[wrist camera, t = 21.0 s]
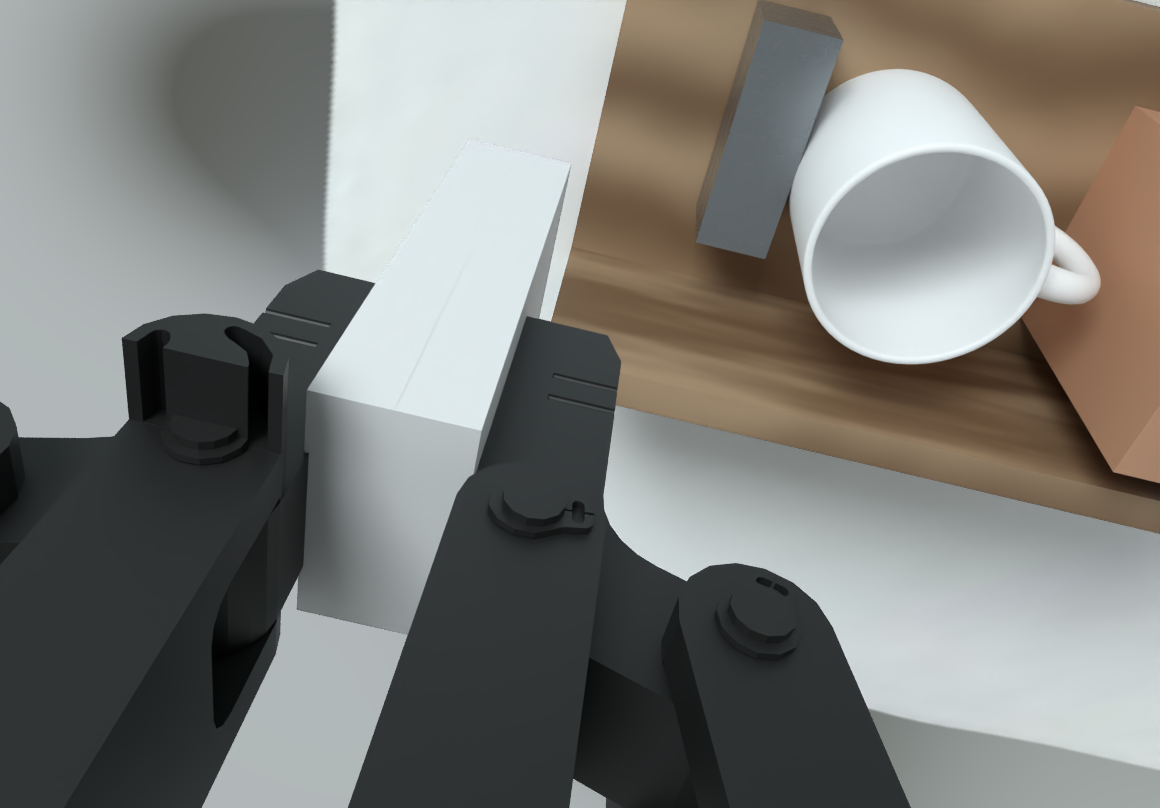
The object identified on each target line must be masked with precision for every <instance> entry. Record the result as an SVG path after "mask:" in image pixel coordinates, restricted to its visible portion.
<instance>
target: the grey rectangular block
mask: <svg viewBox="0 0 1160 808" xmlns="http://www.w3.org/2000/svg"><path fill="white" fill-rule="evenodd" d="M843 41H844V40H843V38H842V36H841V34H840V32H839V31H838V29H837V27H836V25H835V23H834V21H833V20H832V18H831V17H830V16H826V15H822V14H818V13H814V12H810V11H806V10H802V9H798V8H794V7H790V6H786V5H782V4H778V3H774V2H770V1H766V0H758V2H757V5H756V9H755V12H754V15H753V19H752V22H751V25H750V29H749V32H748V35H747V39H746V42H745V45H744V49H743V52H742V55H741V59H740V62H739V65H738V69H737V72H736V75H735V79H734V82H733V85H732V89H731V92H730V95H729V99H728V102H727V105H726V109H725V112H724V115H723V119H722V122H721V125H720V129H719V132H718V135H717V139H716V142H715V145H714V149H713V152H712V155H711V159H710V162H709V165H708V169H707V172H706V175H705V179H704V182H703V185H702V189H701V192H700V195H699V199H698V202H697V205H696V243H700V244H704V245H709V246H713V247H717V248H721V249H725V250H729V251H733V252H737V253H742V254H746V255H750V256H754V257H758V258H762V259H765V258H766V256H767V253H768V250H769V247H770V245H771V242H772V239H773V236H774V233H775V231H776V228H777V225H778V222H779V219H780V217H781V214H782V211H783V208H784V205H785V203H786V200H787V197H788V194H789V191H790V189H791V186H792V183H793V180H794V178H795V175H796V172H797V169H798V166H799V164H800V161H801V158H802V155H803V152H804V150H805V147H806V144H807V141H808V138H809V136H810V133H811V130H812V127H813V124H814V122H815V119H816V116H817V113H818V111H819V108H820V105H821V102H822V99H823V97H824V94H825V91H826V88H827V85H828V83H829V80H830V77H831V74H832V71H833V69H834V66H835V63H836V60H837V57H838V55H839V52H840V49H841V46H842V44H843Z"/></svg>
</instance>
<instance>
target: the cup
mask: <svg viewBox="0 0 1160 808" xmlns="http://www.w3.org/2000/svg"><path fill="white" fill-rule="evenodd" d="M787 203H788V208H789V212H790V217H791V222H792V227H793V232H794V237H795V242H796V247H797V252H798V257H799V262H800V266H801V271H802V276H803V281H804V286H805V291H806V294H807V298H808V301H809V303H810V306H811V308H812V310H813V312H814V314H815V316H816V317H817V319H818V320H819V322H820V323H821V325H822V326H823V327H824V328H825V329H826V330H827V331H828V333H829V334H831V335H832V336H833V337H834V338H835V339H836V340H837V341H839V342H840V343H841V344H843V345H844V346H846V347H848V348H849V349H851V350H853V351H855V352H857V353H859V354H861V355H863V356H866V357H869V358H872V359H875V360H879V361H883V362H889V363H895V364H926V363H934V362H940V361H944V360H948V359H952V358H955V357H958V356H961V355H964V354H966V353H969V352H971V351H974V350H976V349H978V348H980V347H982V346H984V345H985V344H987V343H989V342H990V341H992V340H994V339H995V338H997V337H998V336H999V335H1001V334H1002V333H1004V332H1005V331H1006V330H1007V329H1009V328H1010V327H1011V326H1012V325H1013V324H1014V323H1015V322H1016V321H1017V320H1018V319H1019V318H1020V317H1021V316H1022V315H1023V314H1024V313H1025V312H1026V311H1027V309H1028V308H1029V307H1030V306H1031V304H1032V303H1033V302H1034V300H1035V299H1036V297H1038V298H1041V299H1045V300H1048V301H1052V302H1056V303H1061V304H1069V305H1073V304H1083V303H1086V302H1088V301H1090V300H1092V299H1093V298H1094V297H1095V296H1096V295H1097V294H1098V292H1099V289H1100V286H1101V280H1100V275H1099V272H1098V270H1097V268H1096V266H1095V265H1094V263H1093V261H1092V260H1091V258H1090V257H1089V256H1088V254H1087V253H1086V252H1085V251H1084V250H1083V248H1082V247H1081V246H1080V245H1079V244H1078V243H1077V242H1075V241H1074V240H1073V239H1072V238H1071V237H1070V236H1069V235H1067V234H1066V233H1065V232H1063V231H1062V230H1060V229H1059V228H1058V227H1056V226H1055V225H1054V219H1053V214H1052V210H1051V208H1050V205H1049V202H1048V200H1047V198H1046V196H1045V194H1044V192H1043V191H1042V189H1041V188H1040V186H1039V185H1038V183H1037V182H1036V181H1035V180H1034V178H1033V177H1032V176H1031V175H1030V174H1029V172H1028V171H1027V170H1026V169H1025V168H1024V166H1023V165H1022V164H1021V163H1020V162H1019V160H1018V159H1017V158H1016V157H1015V155H1014V154H1013V153H1012V152H1011V151H1010V149H1009V148H1008V147H1007V146H1006V145H1005V143H1004V142H1003V141H1002V140H1001V139H1000V137H999V136H998V135H997V134H996V133H995V131H994V130H993V129H992V128H991V127H990V125H989V124H988V123H987V122H986V121H985V119H984V118H983V117H982V116H981V115H980V113H979V112H978V111H977V110H976V109H975V107H974V106H973V105H972V104H971V103H970V102H969V101H968V100H967V99H966V97H965V96H963V95H962V94H961V93H960V92H959V91H958V90H957V89H955V88H954V87H953V86H951V85H950V84H948V83H947V82H945V81H943V80H941V79H939V78H937V77H935V76H932V75H929V74H927V73H923V72H919V71H914V70H908V69H887V70H879V71H874V72H870V73H866V74H863V75H860V76H857V77H855V78H853V79H851V80H848V81H846V82H845V83H843V84H841V85H839V86H837V87H836V88H834V89H833V90H831V91H830V92H829V93H827V94H826V95H825V96H824V97H823V99H822V102H821V105H820V108H819V111H818V113H817V116H816V119H815V122H814V124H813V127H812V130H811V133H810V136H809V138H808V141H807V144H806V147H805V150H804V152H803V155H802V158H801V161H800V164H799V166H798V169H797V172H796V175H795V178H794V180H793V183H792V186H791V189H790V191H789V194H788V197H787ZM1052 261H1054V262H1055V263H1056V264H1057V265H1058V266H1059V267H1057V266H1055V265H1052Z"/></svg>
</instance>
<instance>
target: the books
mask: <svg viewBox="0 0 1160 808" xmlns="http://www.w3.org/2000/svg"><path fill="white" fill-rule="evenodd" d="M1065 233H1066V234H1067V235H1069V236H1070V237H1071V238H1072V239H1073V240H1074V241H1075V242H1077V243H1078V244H1079V245H1080V246H1081V247H1082V248H1083V250H1084V251H1085V252H1086V253H1087V254H1088V256H1089V257H1090V258H1091V260H1092V261H1093V263H1094V265H1095V266H1096V268H1097V270H1098V272H1099V275H1100V280H1101V286H1100V289H1099V292H1098V294H1097V295H1096V296H1095V297H1094V298H1093V299H1092V300H1090V301H1088V302H1086V303H1083V304H1073V305H1069V304H1061V303H1056V302H1052V301H1048V300H1045V299H1041V298H1038V297H1036V299H1035V300H1034V302H1033V303H1032V304H1031V306H1030V307H1029V308H1028V309H1027V311H1026V312H1025V313H1024V314H1023V315H1022V316H1021V318H1022V320H1023V321H1024V323H1025V325H1026V326H1027V328H1028V330H1029V331H1030V333H1031V335H1032V336H1033V338H1034V340H1035V341H1036V343H1037V345H1038V347H1039V348H1040V350H1041V352H1042V353H1043V355H1044V357H1045V358H1046V360H1047V362H1048V363H1049V365H1050V367H1051V368H1052V370H1053V372H1054V373H1055V375H1056V377H1057V378H1058V380H1059V382H1060V384H1061V385H1062V387H1063V389H1064V390H1065V392H1066V394H1067V395H1068V397H1069V399H1070V400H1071V402H1072V404H1073V405H1074V407H1075V409H1076V410H1077V412H1078V414H1079V415H1080V417H1081V419H1082V421H1083V422H1084V424H1085V426H1086V427H1087V429H1088V431H1089V432H1090V434H1091V436H1092V437H1093V439H1094V441H1095V442H1096V444H1097V446H1098V447H1099V449H1100V451H1101V453H1102V454H1103V456H1104V458H1105V459H1106V461H1107V463H1108V464H1109V466H1110V468H1111V469H1112V471H1113V472H1115V473H1119V474H1123V475H1128V476H1132V477H1136V478H1140V479H1144V480H1149V481H1153V482H1157V483H1160V112H1158V111H1154V110H1150V109H1146V108H1142V107H1138V106H1135V107H1134V109H1133V111H1132V112H1131V114H1130V116H1129V118H1128V120H1127V122H1126V123H1125V125H1124V127H1123V129H1122V131H1121V132H1120V134H1119V136H1118V138H1117V140H1116V141H1115V143H1114V145H1113V147H1112V149H1111V150H1110V152H1109V154H1108V156H1107V158H1106V159H1105V161H1104V163H1103V165H1102V167H1101V168H1100V170H1099V172H1098V174H1097V176H1096V178H1095V179H1094V181H1093V183H1092V185H1091V187H1090V188H1089V190H1088V192H1087V194H1086V196H1085V197H1084V199H1083V201H1082V203H1081V205H1080V206H1079V208H1078V210H1077V212H1076V214H1075V215H1074V217H1073V219H1072V221H1071V223H1070V224H1069V226H1068V228H1067V230H1066V232H1065ZM1052 265H1055V266H1057V267H1059V266H1058V265H1057V264H1056V263H1055V262H1054V261H1052Z"/></svg>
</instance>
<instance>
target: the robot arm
mask: <svg viewBox="0 0 1160 808" xmlns="http://www.w3.org/2000/svg"><path fill="white" fill-rule="evenodd" d="M570 168H571V163H567V162H563V161H558V160H554V159H550V158H546V157H542V156H538V155H534V154H530V153H525V152H521V151H517V150H513V149H509V148H505V147H501V146H496V145H492V144H488V143H484V142H480V141H476V140H472V139H468V141H467V142H466V144H465V145H464V147H463V149H462V150H461V152H460V153H459V155H458V156H457V158H456V159H455V161H454V162H453V164H452V166H451V167H450V169H449V170H448V172H447V173H446V175H445V176H444V178H443V180H442V181H441V183H440V184H439V186H438V187H437V189H436V190H435V192H434V194H433V195H432V197H431V198H430V200H429V201H428V203H427V204H426V206H425V207H424V209H423V211H422V212H421V214H420V215H419V217H418V218H417V220H416V221H415V223H414V225H413V226H412V228H411V229H410V231H409V232H408V234H407V235H406V237H405V239H404V240H403V242H402V243H401V245H400V246H399V248H398V249H397V251H396V252H395V254H394V256H393V257H392V259H391V260H390V262H389V263H388V265H387V266H386V268H385V270H384V271H383V273H382V274H381V276H380V277H379V279H378V280H377V282H376V283H372V282H368V281H364V280H359V279H355V278H351V277H347V276H343V275H338V274H334V273H330V272H326V271H321V270H317V271H315V272H312V273H310V274H308V275H306V276H304V277H302V278H300V279H298V280H296V281H293V282H291V283H289V284H287V285H285V286H284V287H283V288H282V290H281V291H280V292H279V293H278V295H277V296H276V297H275V298H274V299H273V301H272V302H271V303H270V304H269V306H268V307H267V308H266V312H265V313H262V314H261V315H260V316H259V318H258V319H257V320H256V321H255V323H254V324H253V323H250V322H247V321H244V320H242V319H239V318H235V317H228V316H220V315H212V314H192V315H178V316H171V317H167V318H164V319H160V320H157V321H153V322H150V323H146V324H143V325H142V326H140V327H138V328H137V329H135V330H134V331H132V332H131V333H129V334H127V335H126V336H124V337H123V338H122V346H123V357H124V368H125V379H126V390H127V401H128V412H129V420H128V421H127V422H126V424H125V425H124V426H123V427H122V428H121V429H120V430H119V431H118V433H117V434H116V435H115V436H113V437H98V438H22V437H18V433H17V427H16V424H15V421H14V419H13V416H12V413H11V411H10V409H9V407H7V406H5V405H4V404H3V403H1V402H0V808H202V805H203V804H204V802H205V799H206V797H207V795H208V793H209V791H210V789H211V787H212V785H213V783H214V781H215V778H216V777H217V774H218V772H219V770H220V768H221V766H222V764H223V762H224V760H225V758H226V756H227V754H228V752H229V750H230V748H231V746H232V743H233V741H234V739H235V737H236V735H237V733H238V731H239V729H240V727H241V725H242V723H243V721H244V718H245V716H246V714H247V712H248V710H249V708H250V706H251V704H252V702H253V700H254V698H255V695H256V694H257V692H258V690H259V687H260V685H261V683H262V681H263V679H264V677H265V675H266V673H267V671H268V669H269V667H270V665H271V663H272V660H273V658H274V656H275V654H276V650H277V646H278V641H279V636H280V619H281V609H282V607H283V605H284V603H285V601H286V599H287V597H288V595H289V593H290V591H291V589H292V587H293V585H294V583H295V581H296V580H297V578H298V595H297V610H301V611H305V612H309V613H314V614H318V615H323V616H327V617H332V618H336V619H341V620H345V621H349V622H353V623H358V624H362V625H367V626H371V627H376V628H380V629H384V630H389V631H393V632H398V633H402V634H407V635H408V636H407V639H406V642H405V645H404V647H403V650H402V653H401V656H400V659H399V662H398V665H397V668H396V671H395V674H394V676H393V679H392V682H391V685H390V688H389V691H388V694H387V696H386V700H385V702H384V705H383V708H382V711H381V714H380V717H379V720H378V722H377V725H376V729H375V731H374V734H373V737H372V740H371V743H370V746H369V749H368V751H367V754H366V757H365V760H364V763H363V766H362V769H361V772H360V774H359V778H358V780H357V783H356V786H355V789H354V792H353V795H352V798H351V800H350V803H349V806H348V808H569V805H570V798H571V790H572V781H573V779H575V780H577V781H579V782H580V783H582V784H584V785H585V786H587V787H589V788H591V789H592V790H594V791H596V792H597V793H599V794H601V795H603V796H604V797H606V808H911V807H910V805H909V803H908V800H907V798H906V796H905V793H904V791H903V789H902V787H901V784H900V782H899V780H898V777H897V775H896V773H895V770H894V768H893V766H892V764H891V761H890V759H889V756H888V754H887V752H886V749H885V747H884V745H883V743H882V740H881V738H880V736H879V733H878V731H877V729H876V726H875V724H874V722H873V719H872V717H871V715H870V713H869V710H868V708H867V706H866V703H865V701H864V699H863V696H862V694H861V692H860V689H859V687H858V685H857V683H856V680H855V678H854V676H853V673H852V671H851V669H850V666H849V664H848V662H847V659H846V657H845V655H844V653H843V650H842V648H841V646H840V643H839V641H838V639H837V636H836V634H835V632H834V629H833V627H832V625H831V624H830V622H829V621H828V619H827V618H826V616H825V615H824V613H823V612H822V610H821V609H820V607H819V606H818V604H817V603H816V602H815V601H814V600H813V599H812V598H811V597H809V596H808V595H807V594H806V593H805V592H803V591H802V590H801V589H800V588H799V587H798V586H796V585H795V584H794V583H793V582H791V581H789V580H787V579H784V578H782V577H780V576H778V575H776V574H774V573H772V572H770V571H768V570H766V569H763V568H758V567H753V566H748V565H743V564H738V563H733V564H723V565H713V566H709V567H707V568H705V569H703V570H701V571H700V572H698V573H696V574H694V575H692V576H691V577H689V579H688V581H685V580H683V579H681V578H679V577H677V576H675V575H673V574H671V573H669V572H667V571H665V570H663V569H661V568H659V567H657V566H655V565H654V564H652V563H650V562H649V561H647V560H645V559H644V558H642V557H640V556H639V555H637V554H636V553H635V552H634V551H633V550H632V549H630V548H629V547H628V546H627V545H626V544H625V543H624V542H623V541H621V539H620V538H619V537H618V535H617V534H616V532H615V531H614V530H613V528H612V527H611V526H610V524H609V521H608V519H607V516H606V513H605V511H604V500H603V493H604V486H605V479H606V471H607V464H608V457H609V449H610V442H611V435H612V427H613V420H614V411H615V406H616V398H617V389H618V384H619V376H620V369H621V360H620V358H619V356H618V354H617V352H616V350H615V348H614V346H613V344H612V343H611V341H610V339H609V337H608V335H605V334H600V333H596V332H592V331H588V330H583V329H579V328H575V327H571V326H567V325H562V324H558V323H554V322H550V321H545V320H541V319H539V316H540V311H541V306H542V302H543V297H544V292H545V287H546V283H547V278H548V273H549V268H550V263H551V259H552V254H553V249H554V244H555V240H556V235H557V230H558V225H559V221H560V216H561V211H562V206H563V201H564V197H565V192H566V187H567V182H568V178H569V173H570Z"/></svg>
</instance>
